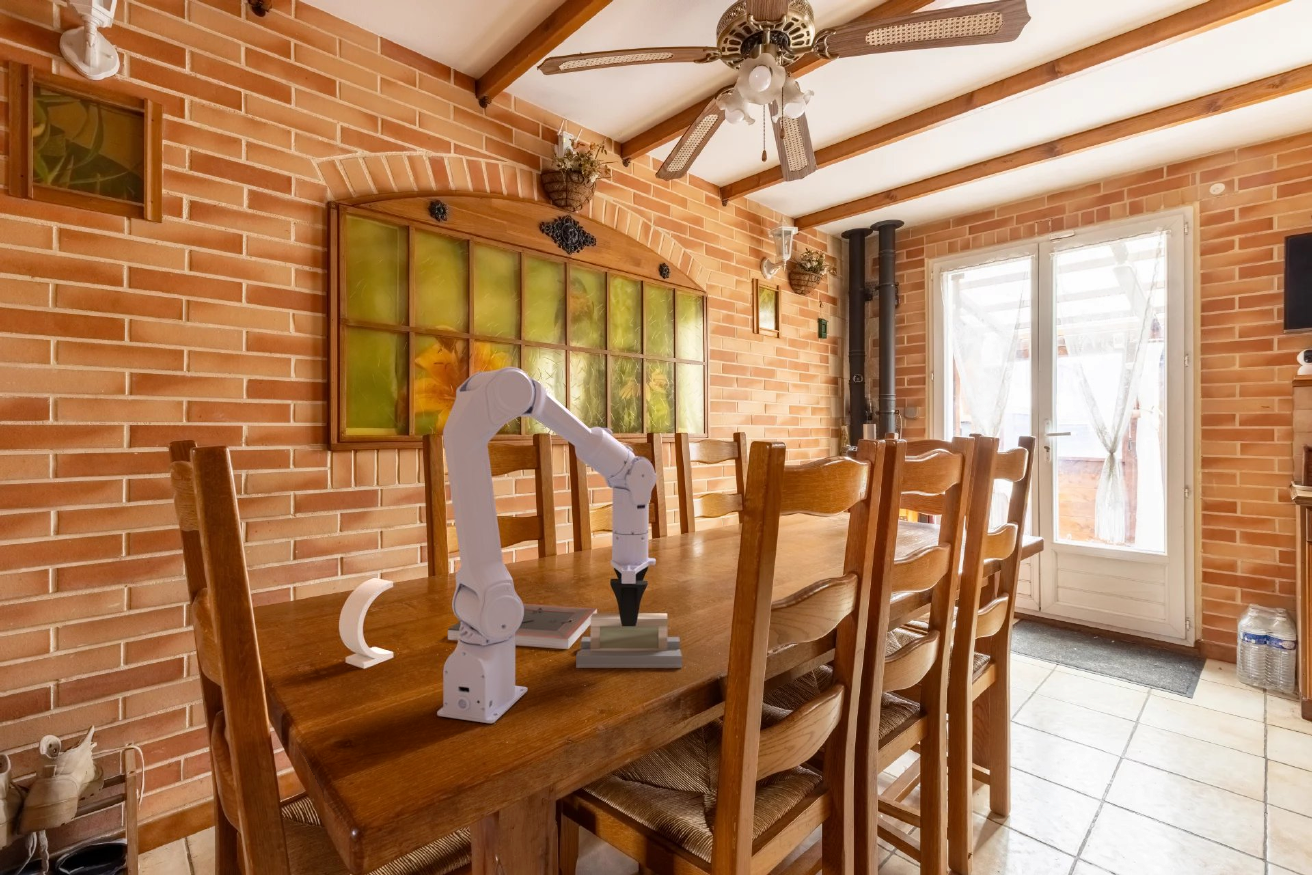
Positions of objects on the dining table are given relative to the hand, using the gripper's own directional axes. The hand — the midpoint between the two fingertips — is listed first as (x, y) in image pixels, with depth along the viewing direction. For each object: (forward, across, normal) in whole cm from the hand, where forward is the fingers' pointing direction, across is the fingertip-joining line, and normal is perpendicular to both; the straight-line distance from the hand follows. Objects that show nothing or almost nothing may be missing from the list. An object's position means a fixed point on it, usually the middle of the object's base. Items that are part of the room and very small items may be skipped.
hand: (629, 617), depth 92 cm
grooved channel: (+6, 0, 0) cm, 6 cm away
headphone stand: (+7, -1, +41) cm, 41 cm away
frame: (+6, 0, 0) cm, 6 cm away
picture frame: (+7, +14, +19) cm, 25 cm away
